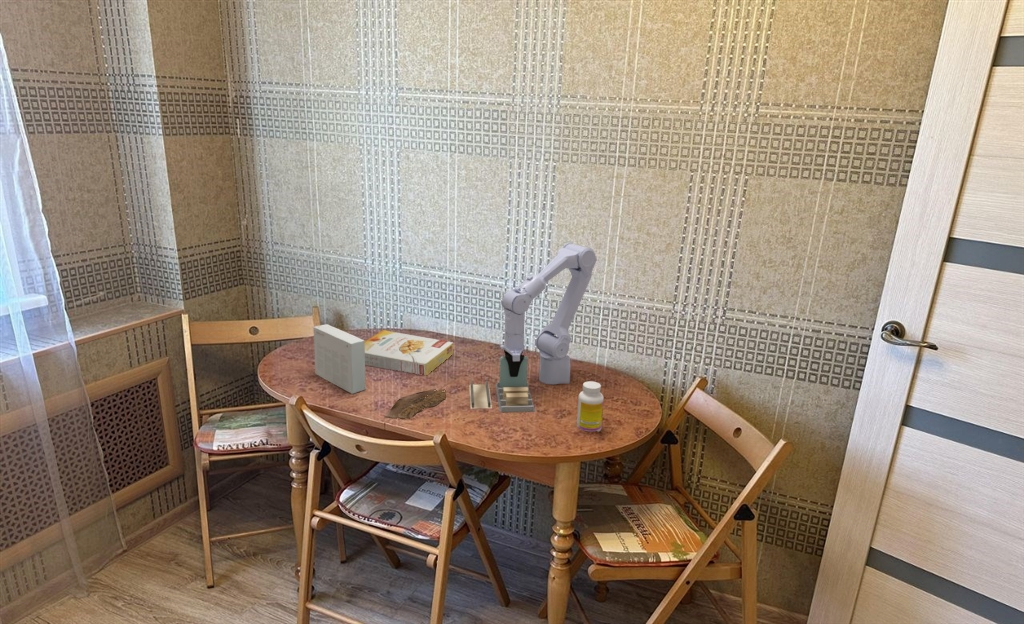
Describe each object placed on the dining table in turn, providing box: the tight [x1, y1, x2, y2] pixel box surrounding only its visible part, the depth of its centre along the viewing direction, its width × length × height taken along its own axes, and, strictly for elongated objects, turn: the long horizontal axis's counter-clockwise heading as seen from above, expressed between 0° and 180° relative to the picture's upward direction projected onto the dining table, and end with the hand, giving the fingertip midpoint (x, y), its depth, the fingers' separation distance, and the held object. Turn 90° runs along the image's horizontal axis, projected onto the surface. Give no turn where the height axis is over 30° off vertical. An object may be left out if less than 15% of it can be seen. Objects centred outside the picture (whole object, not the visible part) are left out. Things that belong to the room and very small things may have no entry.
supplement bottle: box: [576, 380, 605, 433], centre depth 165 cm, size 7×7×13 cm
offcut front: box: [506, 393, 528, 406], centre depth 175 cm, size 6×2×4 cm, turn 95°
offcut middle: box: [503, 387, 528, 400], centre depth 178 cm, size 7×2×4 cm, turn 95°
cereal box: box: [365, 329, 454, 376], centre depth 210 cm, size 20×6×28 cm
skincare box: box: [312, 323, 367, 395], centre depth 189 cm, size 21×6×16 cm, turn 47°
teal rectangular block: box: [499, 355, 529, 387], centre depth 185 cm, size 8×2×9 cm, turn 95°
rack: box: [495, 381, 536, 413], centre depth 182 cm, size 10×19×2 cm, turn 5°
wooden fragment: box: [384, 388, 447, 420], centre depth 180 cm, size 26×11×1 cm, turn 143°
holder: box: [468, 380, 493, 410], centre depth 182 cm, size 6×16×2 cm, turn 5°
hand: (513, 374), depth 185 cm, fingers closed on teal rectangular block, 2 cm apart
